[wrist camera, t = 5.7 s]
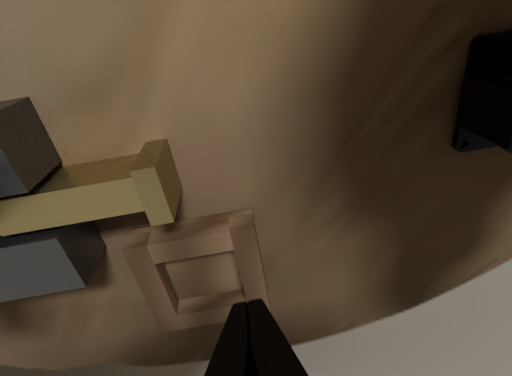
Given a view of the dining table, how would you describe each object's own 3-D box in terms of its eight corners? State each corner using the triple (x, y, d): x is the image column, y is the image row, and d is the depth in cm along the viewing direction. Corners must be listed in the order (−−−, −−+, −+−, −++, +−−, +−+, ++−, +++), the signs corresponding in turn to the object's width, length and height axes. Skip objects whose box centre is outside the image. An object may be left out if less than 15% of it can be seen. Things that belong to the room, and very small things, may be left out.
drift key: (166, 138, 18) (154, 167, 14) (182, 187, 19) (174, 222, 16) (8, 166, 18) (-39, 201, 14) (36, 213, 19) (0, 252, 16)
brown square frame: (251, 208, 20) (254, 226, 19) (267, 291, 24) (271, 313, 23) (130, 229, 20) (121, 250, 19) (166, 309, 24) (162, 332, 23)
